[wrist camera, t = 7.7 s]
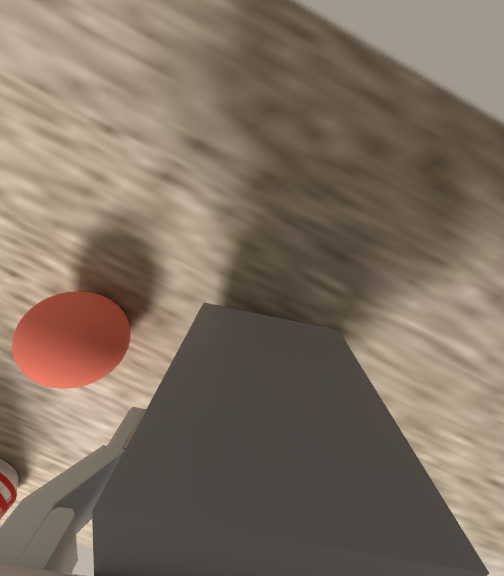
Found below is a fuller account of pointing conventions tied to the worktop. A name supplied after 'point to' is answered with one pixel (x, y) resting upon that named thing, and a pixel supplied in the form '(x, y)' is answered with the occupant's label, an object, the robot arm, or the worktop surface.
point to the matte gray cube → (272, 467)
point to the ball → (71, 339)
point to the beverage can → (7, 486)
